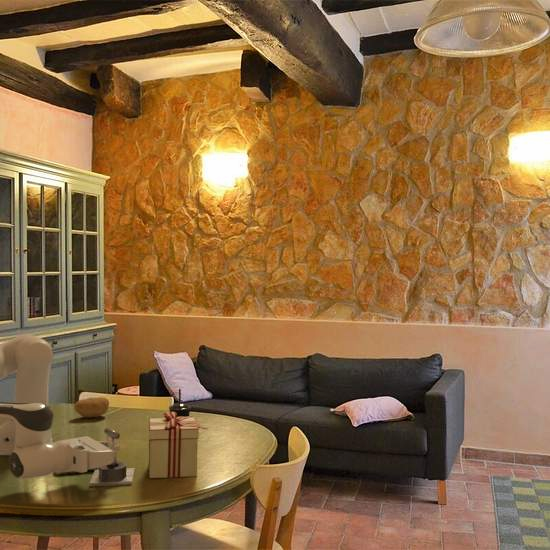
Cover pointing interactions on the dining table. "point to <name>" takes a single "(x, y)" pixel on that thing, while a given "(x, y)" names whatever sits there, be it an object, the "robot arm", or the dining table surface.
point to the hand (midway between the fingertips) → (115, 445)
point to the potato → (92, 407)
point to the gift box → (173, 446)
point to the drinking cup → (180, 408)
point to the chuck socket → (113, 475)
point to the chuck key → (112, 443)
